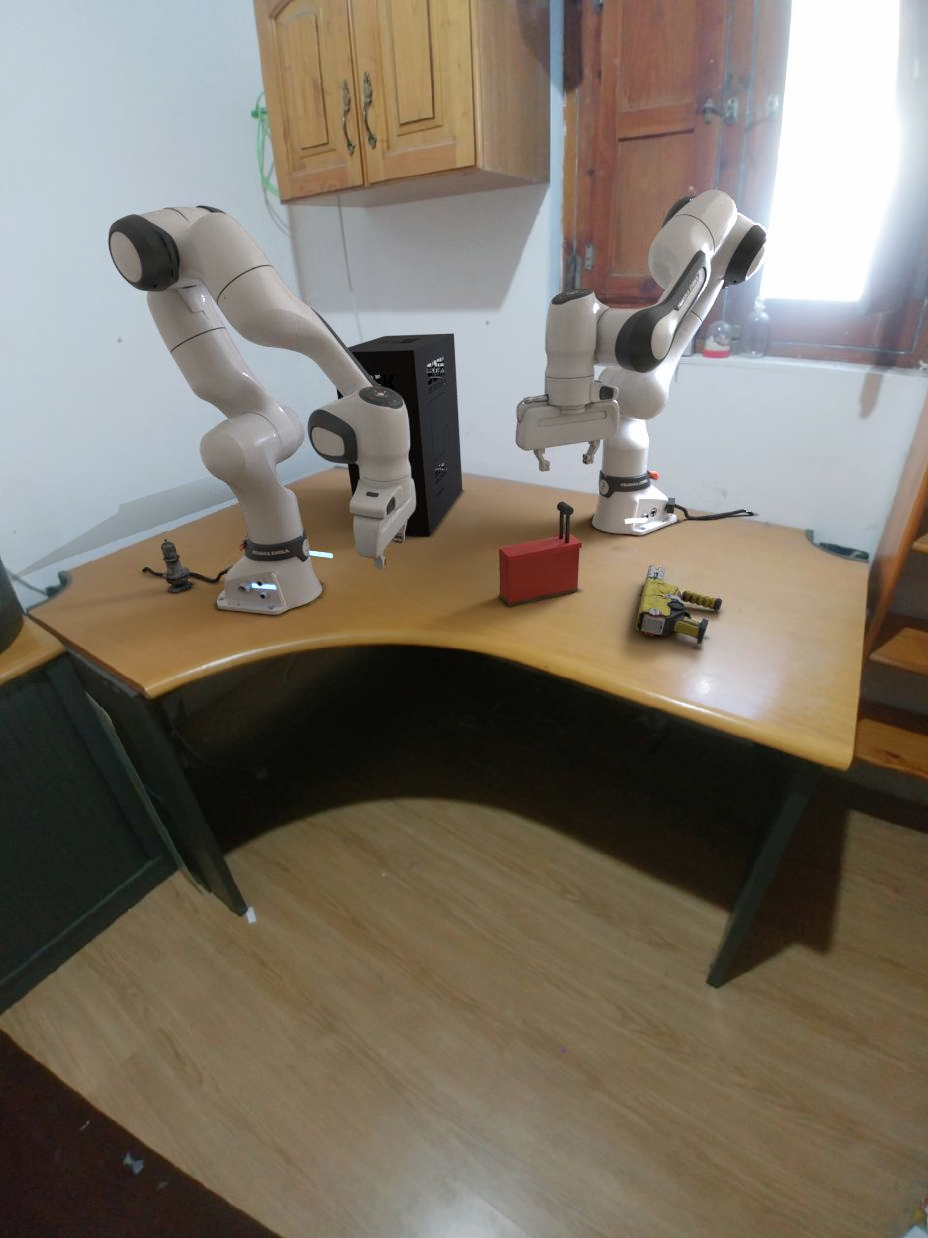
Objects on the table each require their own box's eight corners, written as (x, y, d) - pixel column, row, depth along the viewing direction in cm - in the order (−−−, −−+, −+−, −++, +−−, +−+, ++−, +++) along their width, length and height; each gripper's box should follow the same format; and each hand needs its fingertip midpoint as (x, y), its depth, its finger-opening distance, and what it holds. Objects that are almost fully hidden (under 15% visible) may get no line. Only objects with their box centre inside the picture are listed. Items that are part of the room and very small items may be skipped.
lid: (569, 539, 127) (571, 498, 123) (581, 547, 123) (583, 505, 119) (498, 553, 123) (497, 511, 118) (508, 562, 119) (508, 519, 114)
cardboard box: (429, 535, 159) (413, 350, 136) (357, 532, 163) (331, 352, 141) (462, 490, 190) (453, 333, 168) (401, 488, 195) (385, 335, 172)
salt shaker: (184, 593, 136) (168, 544, 130) (161, 592, 138) (145, 543, 132) (199, 581, 141) (184, 533, 135) (177, 580, 143) (161, 533, 137)
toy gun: (723, 575, 124) (648, 562, 128) (727, 629, 104) (638, 612, 108) (717, 595, 126) (644, 582, 130) (720, 652, 106) (633, 634, 110)
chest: (566, 581, 132) (567, 539, 127) (577, 591, 128) (579, 548, 123) (499, 596, 128) (498, 553, 123) (509, 606, 124) (508, 562, 119)
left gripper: (391, 460, 114) (395, 525, 122) (344, 508, 98) (352, 579, 107) (423, 465, 112) (424, 530, 121) (380, 515, 97) (385, 585, 105)
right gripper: (524, 400, 104) (524, 479, 111) (626, 387, 110) (620, 463, 116) (509, 395, 109) (510, 470, 116) (607, 383, 115) (603, 455, 122)
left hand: (390, 553), depth 114 cm, fingers open, 8 cm apart
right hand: (566, 466), depth 116 cm, fingers open, 8 cm apart
